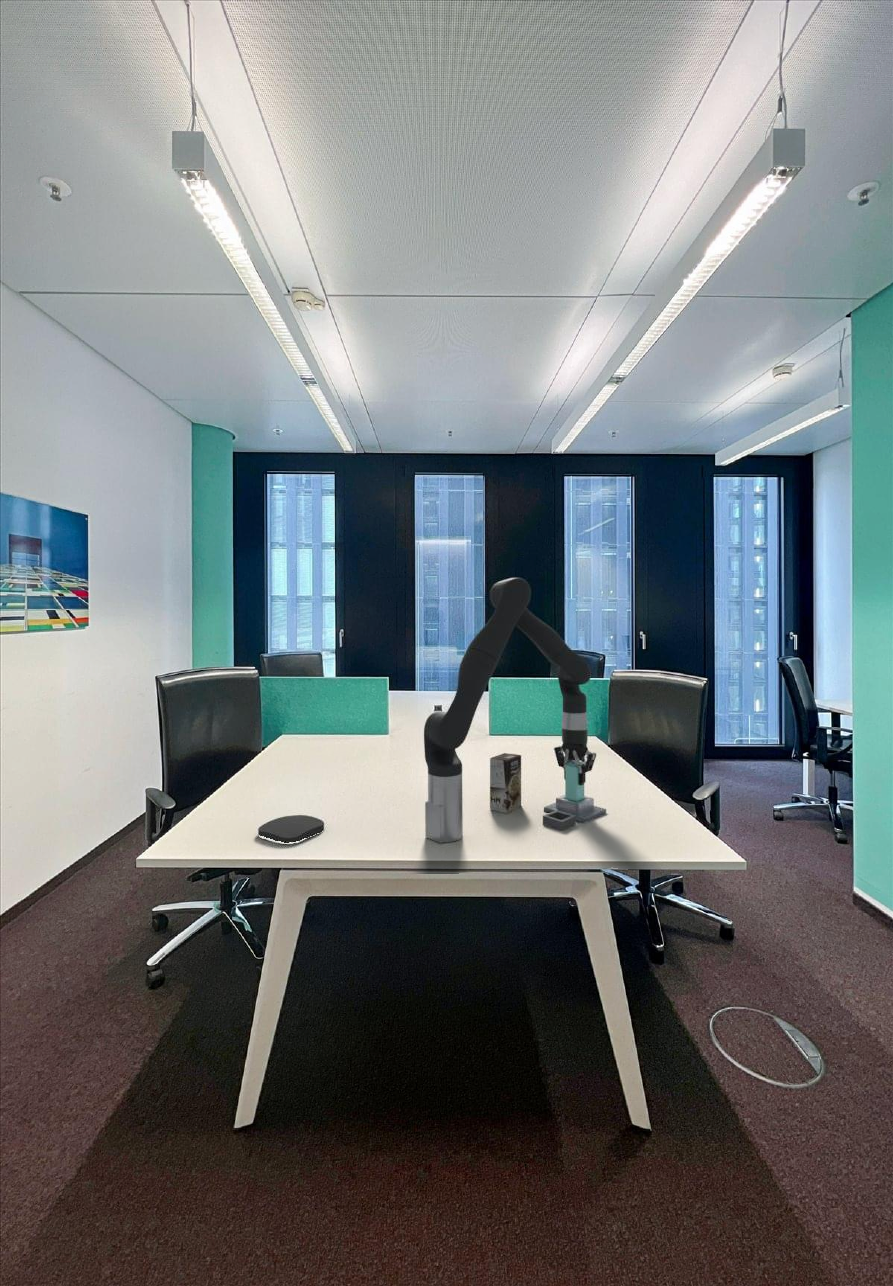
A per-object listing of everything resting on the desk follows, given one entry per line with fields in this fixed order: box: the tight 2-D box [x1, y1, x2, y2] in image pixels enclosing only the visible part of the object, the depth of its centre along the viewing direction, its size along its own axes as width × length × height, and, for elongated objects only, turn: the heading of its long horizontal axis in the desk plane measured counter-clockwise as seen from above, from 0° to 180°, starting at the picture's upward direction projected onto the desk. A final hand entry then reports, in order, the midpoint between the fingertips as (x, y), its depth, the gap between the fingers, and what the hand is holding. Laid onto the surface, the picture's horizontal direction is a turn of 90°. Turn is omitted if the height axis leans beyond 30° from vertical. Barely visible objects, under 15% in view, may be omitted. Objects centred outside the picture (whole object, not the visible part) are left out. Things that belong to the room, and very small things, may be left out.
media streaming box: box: [257, 814, 325, 843], centre depth 148 cm, size 15×15×3 cm
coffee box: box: [489, 752, 522, 814], centre depth 167 cm, size 9×6×16 cm
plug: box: [564, 760, 585, 802], centre depth 162 cm, size 4×4×11 cm
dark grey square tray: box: [542, 810, 577, 832], centre depth 152 cm, size 7×7×2 cm
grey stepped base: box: [543, 794, 607, 824], centre depth 163 cm, size 12×14×4 cm
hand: (574, 783), depth 162 cm, fingers closed on plug, 4 cm apart
